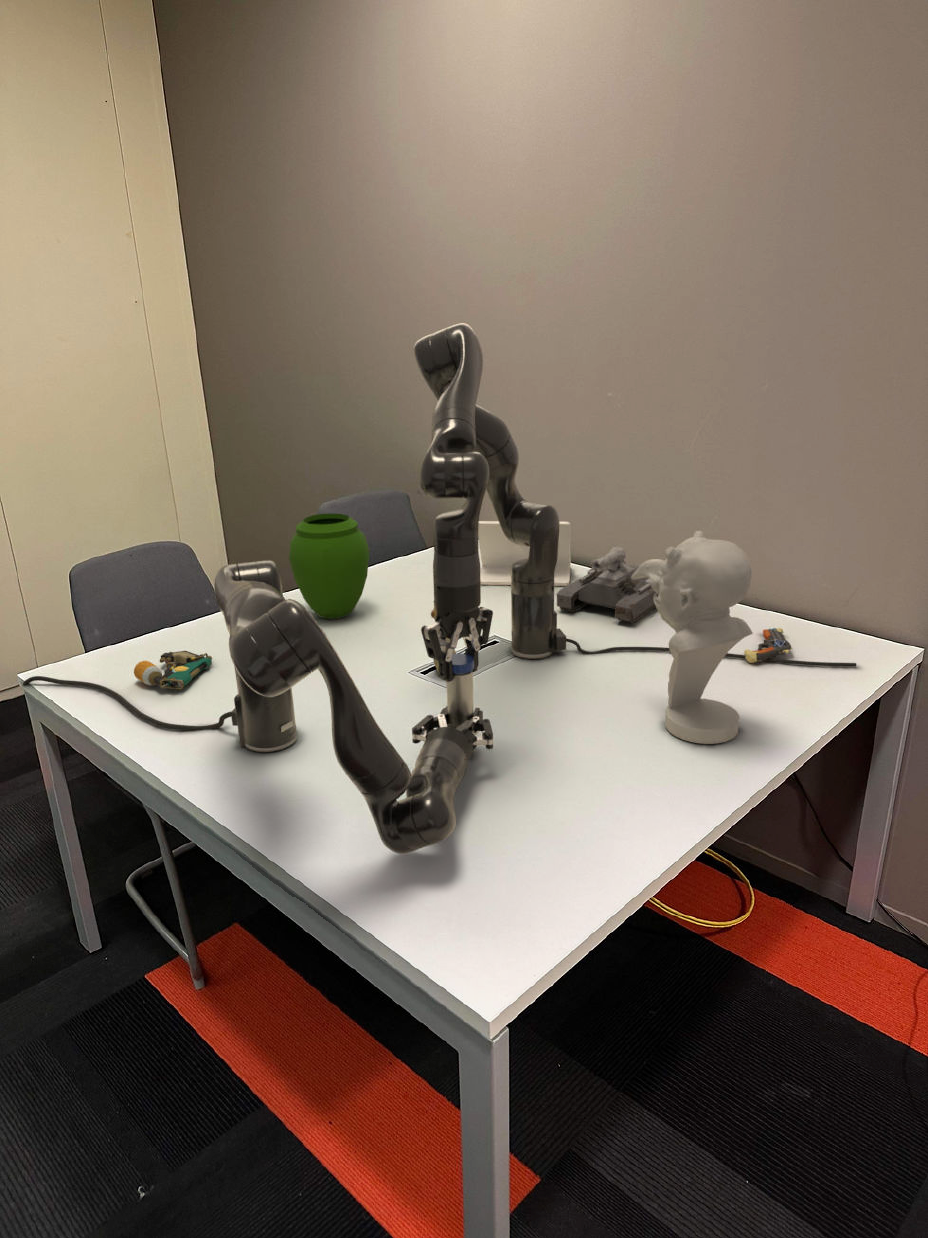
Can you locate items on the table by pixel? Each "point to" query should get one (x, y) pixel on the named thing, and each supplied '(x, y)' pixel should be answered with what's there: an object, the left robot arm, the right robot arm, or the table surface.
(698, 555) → the bust sculpture
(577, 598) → the toy
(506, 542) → the tablet stand
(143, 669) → the spray gun
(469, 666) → the lid
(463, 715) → the jar
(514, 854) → the table surface
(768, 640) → the toy gun
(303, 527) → the vase
